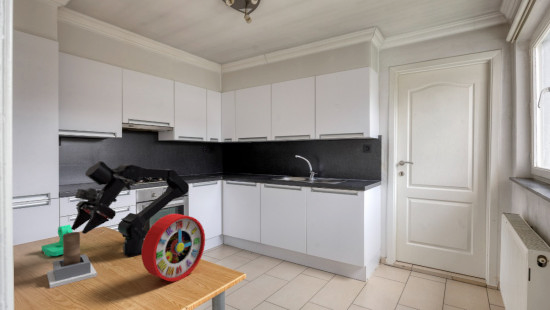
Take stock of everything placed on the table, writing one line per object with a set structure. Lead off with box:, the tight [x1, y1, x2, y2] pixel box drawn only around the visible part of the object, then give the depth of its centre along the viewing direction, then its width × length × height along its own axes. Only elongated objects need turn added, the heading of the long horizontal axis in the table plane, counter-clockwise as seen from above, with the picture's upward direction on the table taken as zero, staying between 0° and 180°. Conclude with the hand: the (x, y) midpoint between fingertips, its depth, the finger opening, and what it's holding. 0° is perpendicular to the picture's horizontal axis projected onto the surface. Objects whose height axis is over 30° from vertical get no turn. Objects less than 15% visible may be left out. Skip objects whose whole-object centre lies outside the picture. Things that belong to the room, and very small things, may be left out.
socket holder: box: [46, 253, 98, 289], centre depth 93 cm, size 12×12×4 cm
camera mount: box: [41, 224, 74, 257], centre depth 113 cm, size 12×8×10 cm, turn 57°
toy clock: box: [141, 213, 206, 282], centre depth 92 cm, size 20×6×20 cm, turn 147°
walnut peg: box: [62, 231, 81, 266], centre depth 93 cm, size 4×4×12 cm
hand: (77, 231), depth 96 cm, fingers open, 9 cm apart
